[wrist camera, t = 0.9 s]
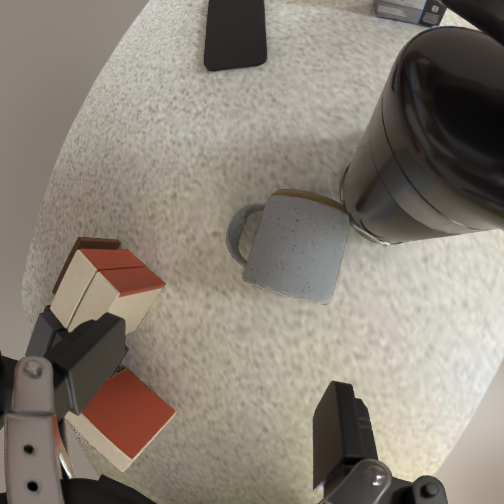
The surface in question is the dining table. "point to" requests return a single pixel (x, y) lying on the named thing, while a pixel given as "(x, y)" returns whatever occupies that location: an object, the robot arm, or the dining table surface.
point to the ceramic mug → (294, 245)
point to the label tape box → (411, 11)
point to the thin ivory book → (122, 418)
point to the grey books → (48, 334)
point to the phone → (235, 34)
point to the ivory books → (103, 285)
